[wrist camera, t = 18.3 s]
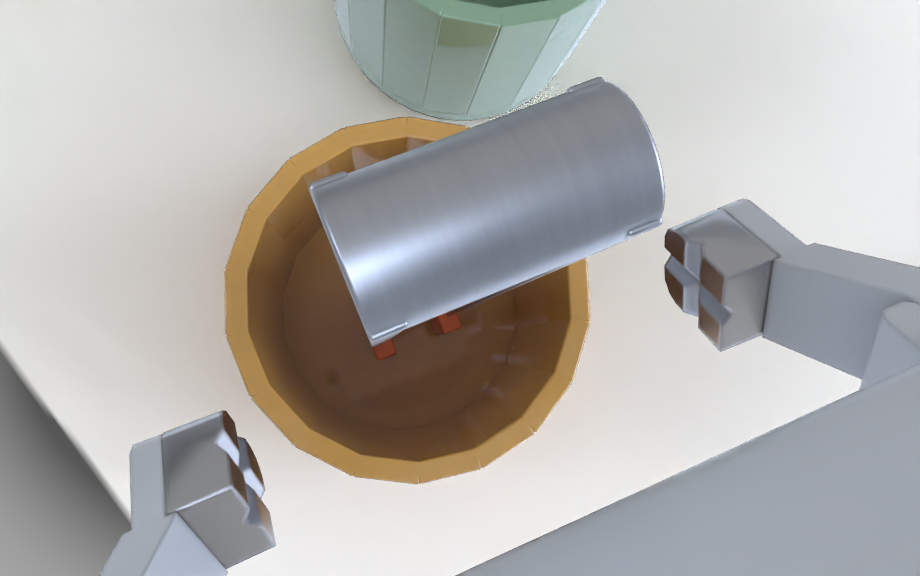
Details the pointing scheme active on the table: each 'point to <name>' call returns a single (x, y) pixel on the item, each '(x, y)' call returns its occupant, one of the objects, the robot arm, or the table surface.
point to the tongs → (490, 208)
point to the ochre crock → (418, 348)
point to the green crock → (463, 50)
